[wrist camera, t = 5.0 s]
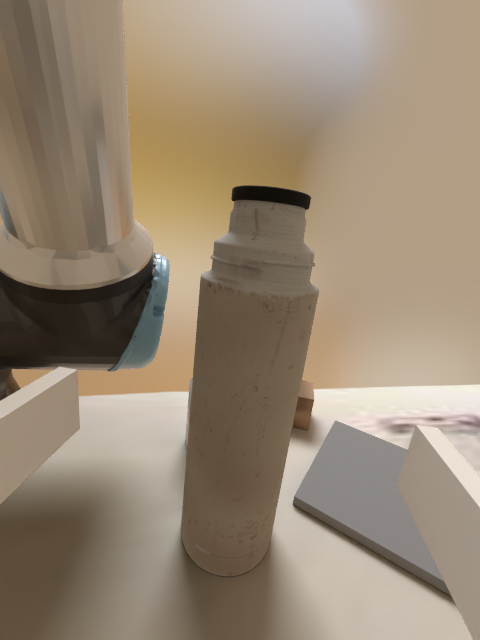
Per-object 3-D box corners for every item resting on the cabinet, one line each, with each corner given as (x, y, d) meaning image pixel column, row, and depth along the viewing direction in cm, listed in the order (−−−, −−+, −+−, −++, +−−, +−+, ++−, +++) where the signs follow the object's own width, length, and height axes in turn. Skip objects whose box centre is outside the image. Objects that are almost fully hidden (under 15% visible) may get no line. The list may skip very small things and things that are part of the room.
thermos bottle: (216, 476, 31) (248, 197, 24) (284, 518, 28) (350, 202, 20) (160, 536, 25) (180, 174, 17) (241, 602, 21) (314, 176, 13)
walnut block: (272, 422, 42) (277, 392, 40) (275, 404, 47) (280, 376, 45) (307, 430, 41) (314, 399, 40) (307, 411, 46) (312, 382, 44)
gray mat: (292, 504, 29) (294, 496, 29) (333, 426, 43) (335, 420, 42) (494, 621, 22) (498, 612, 21) (467, 482, 35) (470, 475, 35)
